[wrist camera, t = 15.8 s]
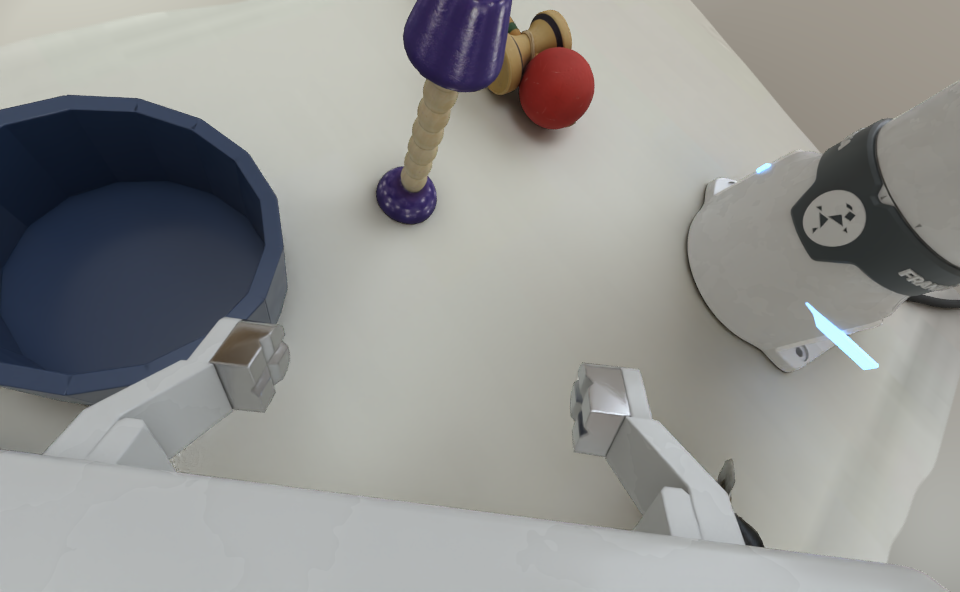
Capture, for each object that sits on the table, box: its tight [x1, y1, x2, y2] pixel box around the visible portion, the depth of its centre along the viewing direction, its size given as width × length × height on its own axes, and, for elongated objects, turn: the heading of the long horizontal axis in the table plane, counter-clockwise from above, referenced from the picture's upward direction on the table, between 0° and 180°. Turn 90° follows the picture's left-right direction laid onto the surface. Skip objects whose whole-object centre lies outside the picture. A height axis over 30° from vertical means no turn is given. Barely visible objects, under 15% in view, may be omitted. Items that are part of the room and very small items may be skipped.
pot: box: [0, 95, 287, 406], centre depth 22 cm, size 14×14×6 cm
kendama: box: [488, 10, 594, 129], centre depth 38 cm, size 8×6×18 cm
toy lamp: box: [376, 0, 512, 224], centre depth 25 cm, size 5×5×17 cm
